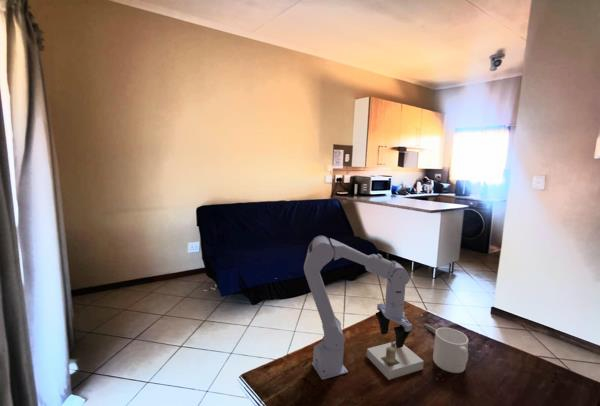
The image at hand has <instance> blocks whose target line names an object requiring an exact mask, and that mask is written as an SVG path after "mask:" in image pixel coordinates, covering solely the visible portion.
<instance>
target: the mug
mask: <svg viewBox="0 0 600 406" xmlns="http://www.w3.org/2000/svg"><path fill="white" fill-rule="evenodd" d="M436 329H437V330H436V332H435V333H434V344H433V355H432V361H433V363H434V364H435V365H436V366H437V367H438V368H440V369H441V370H443V371H445V372H447V373H452V374H461V373H463V372H464V371H465V370H466V366H467V363H468V360H469V351H468V347H469V338H468V336H467V335H466V334H465V333H464V332H462V331H459V330H457V329H455V328H451V327H439V328H436Z"/></svg>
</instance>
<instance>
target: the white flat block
mask: <svg viewBox="0 0 600 406" xmlns="http://www.w3.org/2000/svg"><path fill="white" fill-rule="evenodd" d="M395 342H396V340H395V341H392V342H387V343H385V344H384V343H383V344H380V345H377V346H372V347H368V348H366V358H368V359H369V361H370V362H371V363H372V364H373V365H374V366H375V367H376V368H377V369H378V370H379V371H380V372H381V373H382V374H383V375H384V376H385V378H386V379H387V380H389V381H390V380H392V379H395V378H399V377H403V376H406V375H409V374H411V373H416V372H418V371H421V370H423V369H424V363H425V361H424V360H423V359H422V358H421V357H420V356H418V354H416V353H415V352H414V351H412V350H411V349H410V348H409V347H407V346H406V345H405V344H404V345H403V347H401V348H397V347H396V345H395ZM387 347H393V348H395V349H396V356H395V365H393V366H388V365H387V364H386V363H385V361H386V348H387Z"/></svg>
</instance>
